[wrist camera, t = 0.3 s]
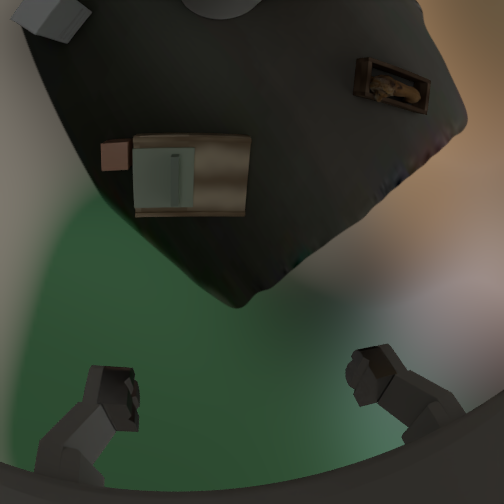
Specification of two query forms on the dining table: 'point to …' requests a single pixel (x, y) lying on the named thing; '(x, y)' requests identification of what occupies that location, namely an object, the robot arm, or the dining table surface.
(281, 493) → the robot arm
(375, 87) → the lion figurine
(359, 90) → the lion stand
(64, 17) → the supplement box
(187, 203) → the cover
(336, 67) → the dining table surface
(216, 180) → the wooden box
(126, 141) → the cube
